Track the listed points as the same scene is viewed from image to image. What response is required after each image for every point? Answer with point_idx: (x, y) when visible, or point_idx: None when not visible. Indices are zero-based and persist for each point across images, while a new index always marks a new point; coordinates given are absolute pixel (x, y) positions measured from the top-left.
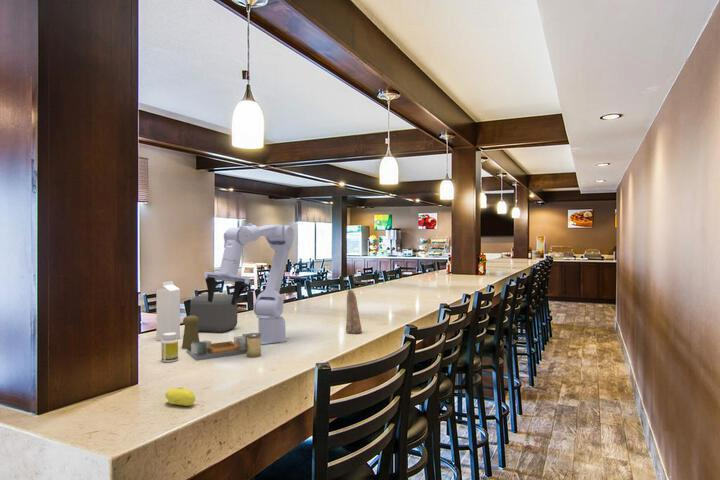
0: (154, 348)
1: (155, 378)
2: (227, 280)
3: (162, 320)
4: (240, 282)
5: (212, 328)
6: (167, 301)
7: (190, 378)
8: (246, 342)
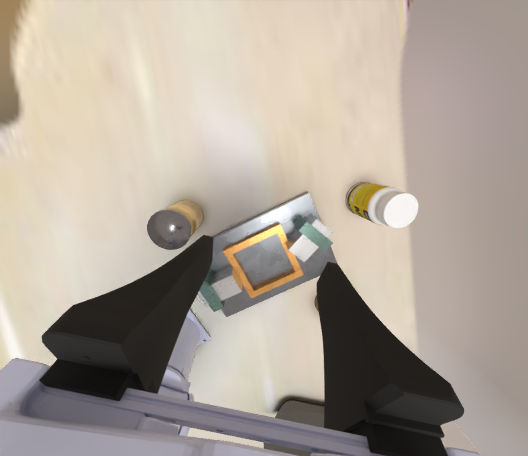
0: (397, 296)
1: (375, 42)
2: (234, 416)
3: None
4: (60, 325)
5: (307, 407)
6: (451, 446)
7: (298, 23)
8: (211, 276)
